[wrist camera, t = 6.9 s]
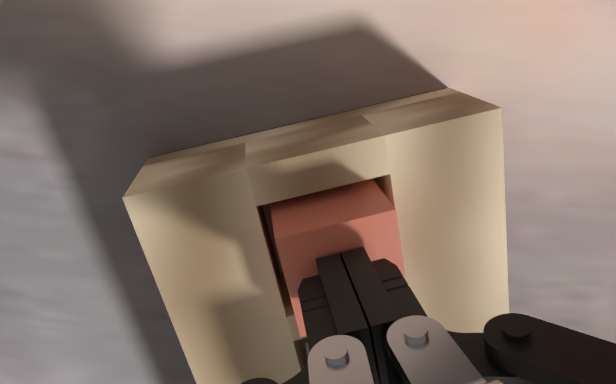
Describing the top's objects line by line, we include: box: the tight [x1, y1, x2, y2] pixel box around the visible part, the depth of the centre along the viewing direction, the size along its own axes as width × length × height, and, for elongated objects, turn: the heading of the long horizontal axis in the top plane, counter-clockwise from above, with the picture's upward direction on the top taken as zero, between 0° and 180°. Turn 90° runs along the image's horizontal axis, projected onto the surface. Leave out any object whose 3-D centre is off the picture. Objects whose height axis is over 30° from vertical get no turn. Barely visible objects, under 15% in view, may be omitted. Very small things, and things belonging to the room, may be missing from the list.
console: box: [122, 88, 509, 384], centre depth 19 cm, size 12×18×4 cm, turn 11°
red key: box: [270, 179, 406, 337], centre depth 16 cm, size 4×4×4 cm
